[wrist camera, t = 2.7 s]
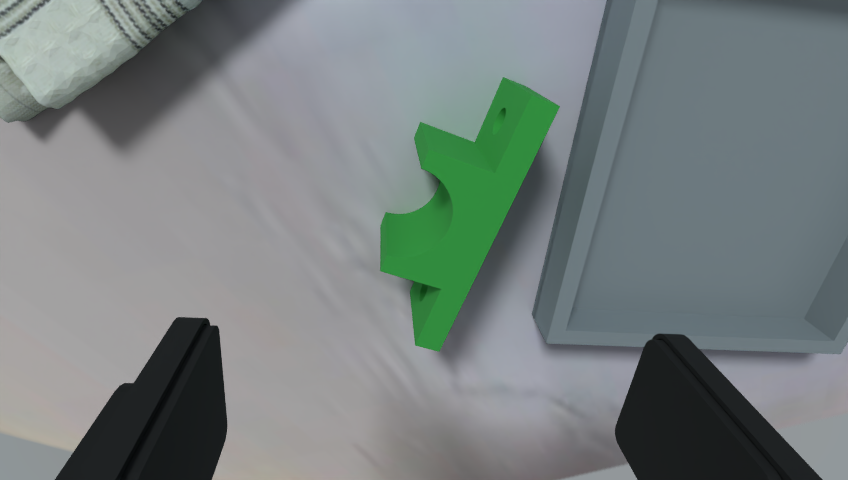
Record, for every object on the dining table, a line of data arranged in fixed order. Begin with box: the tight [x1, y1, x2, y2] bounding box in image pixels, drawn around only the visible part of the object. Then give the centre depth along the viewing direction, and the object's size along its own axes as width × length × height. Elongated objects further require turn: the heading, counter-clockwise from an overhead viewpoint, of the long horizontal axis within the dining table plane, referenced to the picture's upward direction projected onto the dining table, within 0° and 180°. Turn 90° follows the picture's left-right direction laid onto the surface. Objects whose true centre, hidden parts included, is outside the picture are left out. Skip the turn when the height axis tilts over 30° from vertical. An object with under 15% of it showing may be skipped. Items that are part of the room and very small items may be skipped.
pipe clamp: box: [380, 77, 560, 351], centre depth 21 cm, size 11×4×5 cm, turn 158°
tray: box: [532, 0, 848, 354], centre depth 22 cm, size 16×18×2 cm
